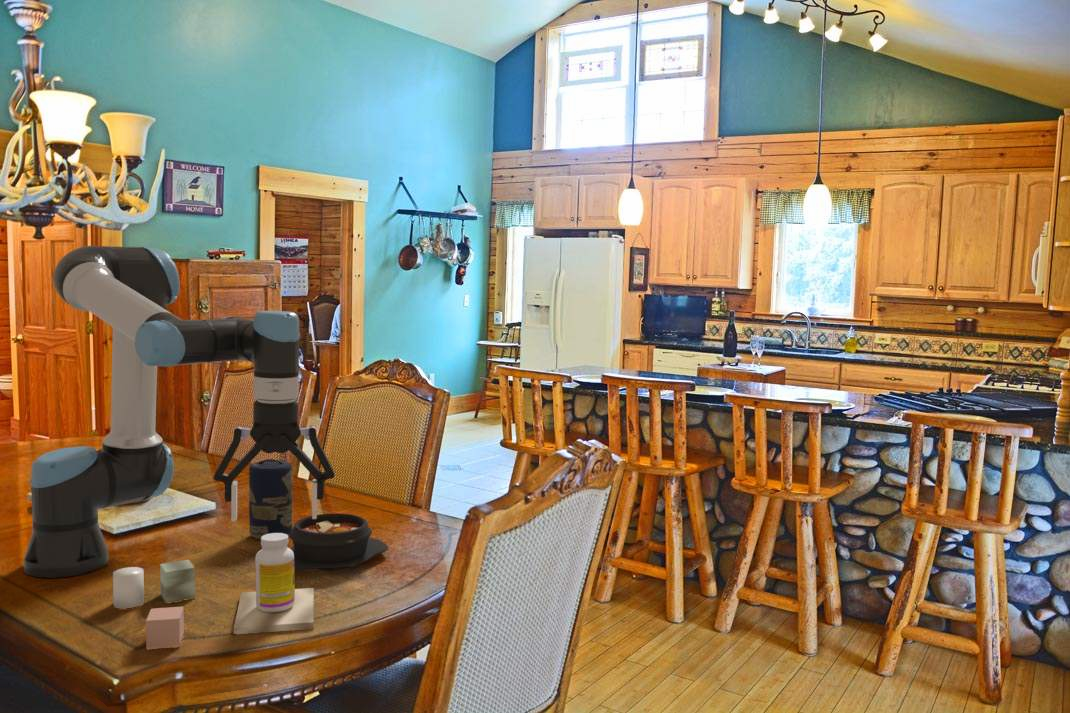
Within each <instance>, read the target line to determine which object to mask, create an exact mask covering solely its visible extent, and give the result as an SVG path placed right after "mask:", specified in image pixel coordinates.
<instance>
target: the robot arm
mask: <svg viewBox="0 0 1070 713" xmlns="http://www.w3.org/2000/svg"><path fill="white" fill-rule="evenodd" d="M52 281H53V286H54V289H55V291H56V293H57V295H58V296H59V297H60V298H61V300H63V301H65V303H67V304H68V305H69V306H71V307H72V308H74V309H76V310H78V311H82V312H89V313H91V314H93V315H94V316H96V317H97V318H99V319H100V320H101V321H103V322H104V323H106V324H107V325H109V326H111V327H112V349H111V350H112V353H111V356H112V358H111V361H112V362H111V401H110V402H111V403H110V404H111V405H110V406H111V407H110V408H111V409H110V431H109V433H108V434H107V435H105V437H104V438H103V439H102V447H101V448H102V449H101V451H97V450H96V448H94V447H92V446H87V445H85V446H84V445H79V446H78V445H77V446H74V447H72V446H71V447H64V448H59V449H54V450H52V451H48V452H47V453H43V454H41V455H40V456H38V457H37V458H36V459H35V460H34V461H33V463H32V464H31V471H30V472H31V474H30V480H29V484H30V487H31V488H30V489H31V490H30V491H31V492H30V494H31V516H32V517H31V518H32V532H31V535H30V539H29V542H28V546H27V548H26V551H25V553H24V557H23V564H22V565H23V572H24V573H25V574H26V575H28V576H31V577H36V578H45V579H46V578H51V579H53V578H56V579H57V578H65V577H72V576H79V575H83V574H88V573H89V572H90V573H91V572H93V571H96V570H98V569H100V568H102V567H104V566H105V565H107V563H108V562H109V549H108V545H107V543H106V541H105V538H104V535H103V533H102V531H101V528H100V526H99V510H100V509H105V508H110V507H115V506H121V505H124V504H130V503H135V502H145V501H146V500H149V499H152V498H156V497H159V496H162V495H163V494H164V493H165V491H167V490H168V489H169V487H170V485H171V483H172V480H173V477H174V473H175V472H174V471H175V465H174V464H175V463H174V458H173V457H172V455H173V454H172V451H171V448H169V447H168V445H167V444H165V443H163V442H164V441H163V438H162V437H161V435H160V434H158V433H157V431H156V423H157V422H156V418H157V413H156V412H157V391H158V390H157V388H158V387H157V383H158V382H157V381H158V380H157V379H158V367H163V368H169V367H174V366H183V365H195V364H207V363H220V362H221V363H222V362H233V361H234V362H235V361H240V362H241V361H244V362H250V363H253V398H254V399H255V400H254V402H252V403H253V405H252V406H253V407H252V408H253V411H252V414H253V419H252V420H253V422H252V427H251V428H249V427H248V428H247V427H242V426H241V425H237V426H236V427H235V429H234V431H233V439H232V442H231V443H230V445H229V447H228V449H227V451H226V453H225V454H224V455H223V456H224V457H223V458H222V460H221V461H220V463H219V466H218V467H217V469H216V471H215V473H214V475H213V480H214V481H216V482H221V483H223V484H224V501H225V502H226V503H229V502H231V505H230V506H231V512H230V513H231V516H230V517H231V518H230V519H231V520H230V522H236V521H237V519H238V480H235V479H236V478H238V476H239V475H240V474H241V473H242V472H243V471H244V470H245V469H246V467H247V466H248V465H249V464H250V463H251V462H252V460H253V459H254V458H256V457H257V456H258V454H259V453H260V452H264V453H265V454H273V453H278V454H286V453H287V452H289V453H290V454H292V455H293V456H294V457H295V458H296V459H297V461H298V462H300V463H301V465H302V466H303V467H304V468H305V469H306V470H307V471H308V473H310V475H312V477H313V478H314V479H312V506H311V507H312V508H311V510H312V512H311V516H312V519H317V515H318V514H317V513H318V511H317V510H318V509H317V508H318V500H323V499H324V492H325V491H324V490H325V482H326V481H327V480H330V479H333V478H334V477H335V470H334V468H333V466H332V465H331V462H330V461H329V458H328V456H327V454H326V453H325V450H324V449H323V447H322V445H321V443H320V441H319V439H318V437H317V428H316V426H315V425H310V426H309V427H301V428H300V426H299V402H298V401H297V400H296V399H297V398H299V395H300V394H299V388H300V387H299V386H300V382H299V381H300V380H299V378H300V375H299V370H300V365H299V364H300V338H301V334H300V320H299V315H298V314H296V312H294V311H288V310H287V311H284V310H283V311H282V310H260V311H256V312H255V313H254V318H253V319H251V318H250V319H249V318H243V317H242V316H224V317H221V318H217V319H214V318H213V319H182V318H181V317H178V316H177V315H175V314H173V313H172V312H170V311H169V310H167V306H168V305H170V304H172V303H174V302H175V301H176V300H177V299H178V296H179V295H180V294H179V293H180V287H181V286H180V284H181V283H180V276H179V271H178V269H177V266H176V264H175V262H174V261H173V259H172V257H171V256H170V255H169V254H168V253H167V252H166V251H164V250H162V249H160V248H152V247H145V246H107V245H105V246H104V245H101V246H100V245H85V246H80V247H77V248H75V249H73V250H70V251H68V253H66V254H65V255H64V256H62V257H61V259H60V260H59V261H58V263H57V264H56V266H55V268H54V272H53V280H52ZM248 436H250V437H251V439H252V440H253V441H254V442H255V443H254V444H253V446H252V447H251V448H250V449H249V450H248V451H247V452H246V453H245V455H244V456H243V457H242V458H241V459H240V460H239V461H238V462H237V463H236V465H234V467H232V469H231V470H230V471H229V472H228V473H225V471H226V470H227V468H228V466H229V464H230V462H231V461H232V460H233V459H232V458H233V457H234V454H235V453H236V451H237V450H238V447H240V446H239V445H240V443H241V441H245V440H246V438H247V437H248ZM301 436H304V439H305V440H306V441H309V442H310V443H309V444H310V445H311V448H312V449H313V451H314V453H315V454H316V457H317V459H318V461H319V463H320V465H321V466H322V468H323V470H324V471H323V472H322V470H321V469H320V468H319V467H318V466H317V465H316V464H315V463H314V462H313V460H311V458H310V457H309V456H308V455H307V454H306V452H305V451H304V450H303V449H302V448H301V446H299V444H298V442H297V440H298V439H299V438H300V437H301ZM334 479H335V478H334Z"/></svg>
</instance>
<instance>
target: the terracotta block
mask: <svg viewBox="0 0 1070 713" xmlns="http://www.w3.org/2000/svg"><path fill="white" fill-rule="evenodd" d="M184 607H185V606H174V607H173V606H171V607H170V606H169V607H158V608H157V607H156V608H151V609H150V610H149V613H148V616H147V617H146V620H145V635H146V636H145V642H146V643H145V644H146V646H145V648H150V647H151V648H153V647H163V646H171V645H180V643H181V640H182V637H183V638H184V636H183V634H184V635H185V618H184V617H185V616H184V615H185V611H184V610H185V608H184ZM182 641H183V640H182ZM181 644H182V643H181Z"/></svg>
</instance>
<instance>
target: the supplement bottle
mask: <svg viewBox="0 0 1070 713" xmlns="http://www.w3.org/2000/svg"><path fill="white" fill-rule="evenodd" d="M288 544H289V535H287V534H284V533H270V534H266V535H263V536H262V537H261V539H260V546H261V549H260V550H259V551H257V553H256V554H255V564H254V565H255V591H256V606H257V608H258V609H259V610H260V611H263V612H269V613H274V612H281V611H285V610H287V609H289V608H291V607H292V606H293V605H294V602H295V589H296V588H295V584H296V583H295V571H294V553H293V551H292V550H291V549H290V548H291V547H288Z"/></svg>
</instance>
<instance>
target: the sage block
mask: <svg viewBox="0 0 1070 713" xmlns="http://www.w3.org/2000/svg"><path fill="white" fill-rule="evenodd" d="M159 566H160V568H159V570H160V595H162V596H161V597H163V598H162V600H163V601H164V600H165V601H164V602H166V603H168V602H174V601H180V600H184V599H191V600H193V599H192V598H195V599H196V576H195V575H196V570H195V569H196V568H195V566H194V565H193V563H192V562H191V561H190V559H184V560H178V561H170V562H165V563H160V564H159ZM180 602H181V601H180ZM166 603H165V604H166ZM174 603H175V602H174Z"/></svg>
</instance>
